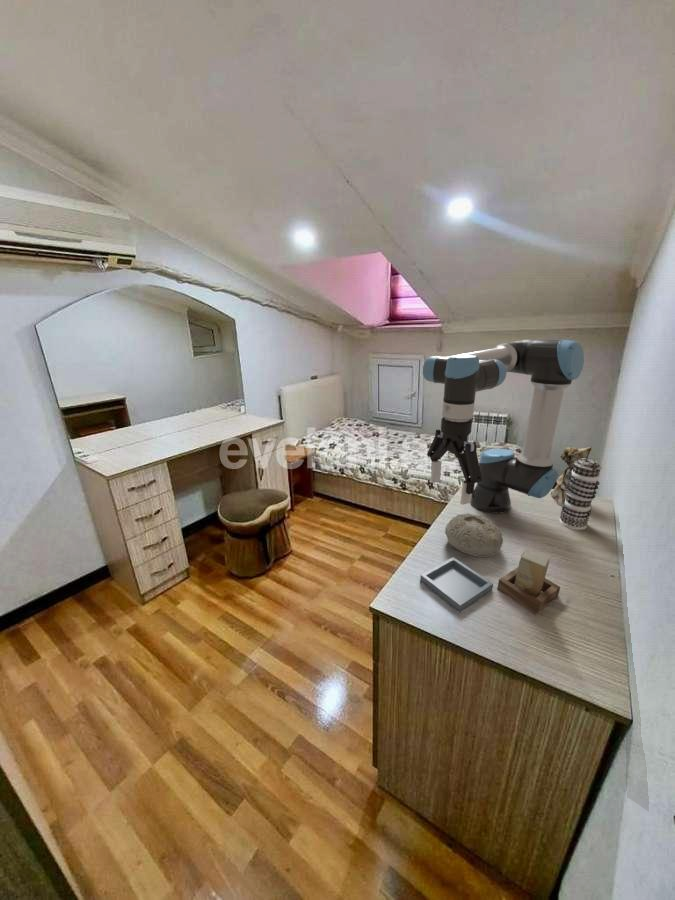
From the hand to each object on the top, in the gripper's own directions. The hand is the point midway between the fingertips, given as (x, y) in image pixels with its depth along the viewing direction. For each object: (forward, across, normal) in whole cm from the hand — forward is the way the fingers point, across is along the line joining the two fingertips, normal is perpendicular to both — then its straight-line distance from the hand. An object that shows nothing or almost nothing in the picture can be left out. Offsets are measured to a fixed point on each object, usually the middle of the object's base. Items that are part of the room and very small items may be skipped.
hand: (449, 491), depth 97 cm
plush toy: (+27, -17, +72) cm, 79 cm away
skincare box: (+27, +16, +16) cm, 36 cm away
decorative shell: (+27, -6, +16) cm, 32 cm away
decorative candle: (+27, -4, +60) cm, 66 cm away
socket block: (+27, +16, +16) cm, 36 cm away
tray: (+27, +7, 0) cm, 28 cm away
